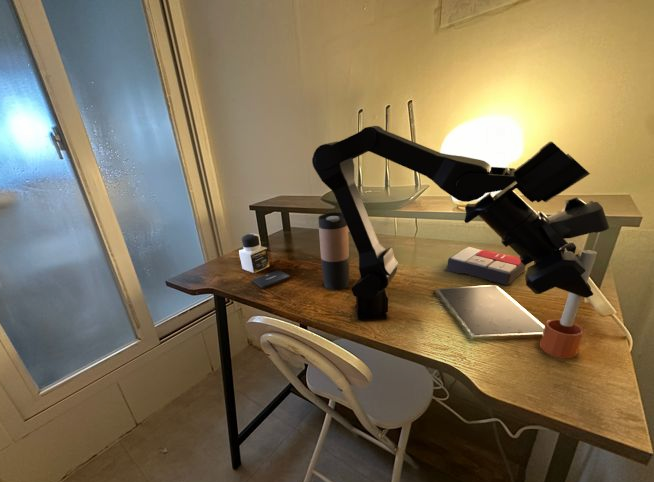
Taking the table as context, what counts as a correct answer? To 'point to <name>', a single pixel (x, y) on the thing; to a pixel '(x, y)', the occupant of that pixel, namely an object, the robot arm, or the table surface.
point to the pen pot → (561, 339)
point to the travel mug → (334, 250)
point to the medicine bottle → (253, 254)
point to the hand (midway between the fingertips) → (588, 293)
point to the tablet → (489, 313)
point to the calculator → (486, 265)
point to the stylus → (574, 299)
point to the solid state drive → (270, 279)
